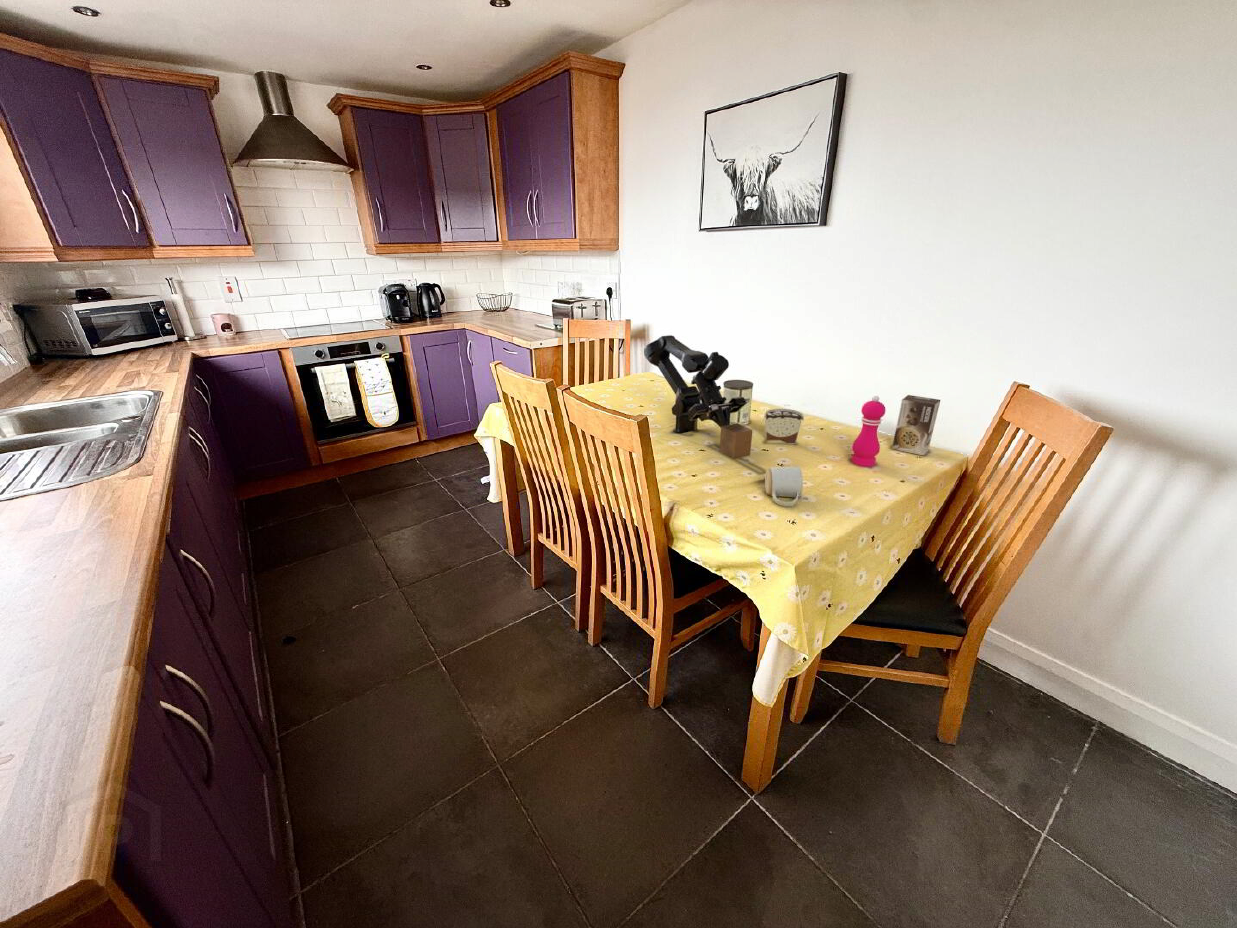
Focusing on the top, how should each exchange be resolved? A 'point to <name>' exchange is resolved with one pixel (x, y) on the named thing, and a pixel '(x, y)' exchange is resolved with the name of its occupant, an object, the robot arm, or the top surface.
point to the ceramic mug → (784, 483)
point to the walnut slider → (735, 440)
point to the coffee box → (915, 424)
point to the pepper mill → (868, 434)
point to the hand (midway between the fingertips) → (727, 432)
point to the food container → (783, 425)
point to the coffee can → (739, 390)
